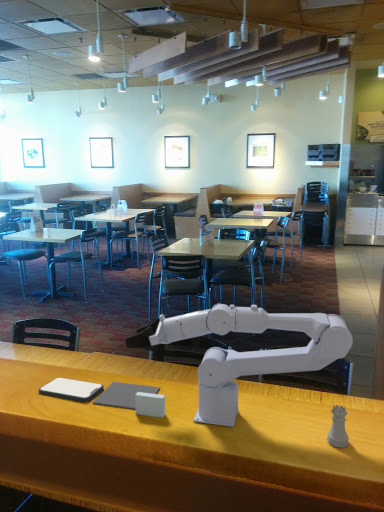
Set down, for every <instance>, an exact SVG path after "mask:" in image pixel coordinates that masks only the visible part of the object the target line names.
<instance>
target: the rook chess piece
mask: <svg viewBox="0 0 384 512" xmlns="http://www.w3.org/2000/svg"><path fill="white" fill-rule="evenodd" d="M330 412H331V413H332V416H331V419H332V424H331V428H330V429H329V431H328V432H327V436H326V441H327V443H329V444H330V445H331V446H332V447H334V448H339V449H344V448H346V447H347V446H349V443H350V442H349V435H348V434H347V431H346V426H345V425H346V421H347V419H346V416H347V415H348V412H347V408H346V407H345V406H343V405H339V404H336V405H333V406H332V409H331V411H330Z"/></svg>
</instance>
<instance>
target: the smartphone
mask: <svg viewBox="0 0 384 512" xmlns="http://www.w3.org/2000/svg"><path fill="white" fill-rule="evenodd" d="M103 391H104V385H103V384H102V383H96V382H90V381H85V380H76V379H71V378H64V377H55V378H54V379H52V380H51V381H49V382H48V383H46V384H44V385H43V386H41V387H40V388H38V393H39V394H40V395H44V396H51V397H55V398H59V399H64V400H70V401H74V402H80V403H88V402H90V401H91V400H93V399H94V398H96V396H97V397H98V396H99V395H100V394H101V393H102V392H103Z"/></svg>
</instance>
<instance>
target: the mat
mask: <svg viewBox="0 0 384 512" xmlns="http://www.w3.org/2000/svg"><path fill="white" fill-rule="evenodd" d="M160 390H161V387H160V386H151V385H144V384H137V383H135V384H134V383H128V382H127V383H126V382H119V381H112V382H111V383H110V384H109V385H108V386H107V387H105V390H103V391H102V392H100V393H99V394H98V395H97V397H95V399H94V400H93V402H92V404H93V405H99V406H105V407H114V408H121V409H129V410H134V411H136V403H135V395H136V393H137V392H143V393H151V394H158V393H159V392H160Z"/></svg>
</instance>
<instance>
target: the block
mask: <svg viewBox="0 0 384 512" xmlns="http://www.w3.org/2000/svg"><path fill="white" fill-rule="evenodd" d="M135 403H136V410H135V415H141V416H148V417H153V418H155V417H156V418H164V417H165V415H166V395H165V394H160V393H159V394H158V393H157V394H151V393H143V392H137V393H136V395H135Z"/></svg>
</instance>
